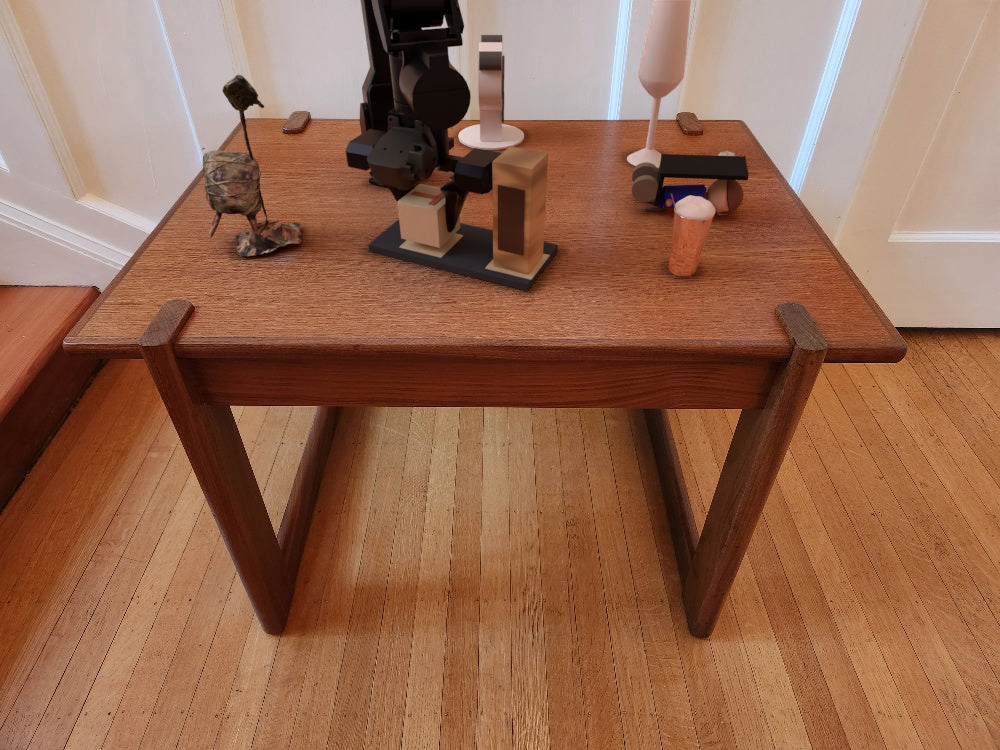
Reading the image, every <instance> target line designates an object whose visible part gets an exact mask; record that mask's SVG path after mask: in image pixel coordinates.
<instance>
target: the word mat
mask: <svg viewBox="0 0 1000 750" xmlns="http://www.w3.org/2000/svg"><path fill="white" fill-rule="evenodd" d="M367 246H368V251H369V252H370V253H374V254H379V255H381V256H386V257H390V258H394V259H399V260H402V261H406V262H410V263H414V264H417V265H422V266H426V267H429V268H433V269H438V270H442V271H446V272H450V273H454V274H458V275H461V276H466V277H469V278H474V279H478V280H482V281H486V282H490V283H494V284H497V285H501V286H505V287H510V288H514V289H518V290H522V291H526V292H528V291H529V290H530V289H531V287H532V286H533V285H534V284H535V282H536V281H537V280H538V278H539V277H540V275H542V273H543V272H544V271H545V269H546V268H547V266H548V265H549V264H550V263H551V261H552V260H553V258H554V257H555V256H556V255H557V254H558V252H559V244H556V243H552V242H547V241H544V244H543V257H542V258H541V260H540V261H539V262H538V263H537V264H536V266H535V267H534V268H533V269H532V271H531V272H530V273H529V274H528V275H527V274H523V273H519V272H515V271H511V270H507V269H503V268H499V267H495V266H493V229H490V228H485V227H481V226H476V225H471V224H467V223H462V222H460V229H459V230H458V231H457V232H456V233H455V234H454V235H453V236H452V237H451V238H450V239H449V240H448V241H446V242H445V243H444V244H443V245H442V246H441V247H440V248H438V247H434V246H430V245H425V244H421V243H417V242H413V241H409V240H405V239H401V231H400V223H399V219H398V220H396V221H395V222H394V223H393V224H391V225H390V226H389V227H388V228H387V229H385V230H384V231H383V232H382V233H380V235H378V236H377V237H376V238H374V239H373V240H372V241H371V242H370V243H368V244H367Z"/></svg>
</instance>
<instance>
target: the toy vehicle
mask: <svg viewBox="0 0 1000 750" xmlns="http://www.w3.org/2000/svg"><path fill="white" fill-rule="evenodd" d="M631 173H632V175H631V180H632V186H631V195H632V197H633V198H634V199H635V200H636V201H639V202H641V203H646V204H647V203H649V204H650V203H651V204H653V203H654V207H652V206H651V207H644V208H643V209H642V210H643V211H645V212H663V211H666V210H667V209H674V204H673V200H674V203H675V204H676V203H677V202H678V201H680V200H681V199H683V198H685V197H687V196H690V195H692V196H700V197H703V198H704V199H706V200H708V201H710V202H711V203H712V205H713V206H714V208H715V214H716V215H719V216H727V215H730V214H733V213H734V212H736V211H737V210H738V209H739V208H740V207H741V206H742V203H743V201H744V189H743V186H742V185H741V183H740V182H739V181H748V180H749V177H750V176H749V169H748V164H747V158H746V156H745V155H744V156H743V155H735V156H717V155H713V154H712V155H708V154H675V153H674V154H673V153H671V154H670V153H661V161H660V166H659V168H657V167H656V166H655V165H654V164H652V163H647V162H645V163H640V164H638V165H637V166H635V167H634V168H633V170H632V172H631ZM665 178H667V179H695V180H696V179H697V180H714V181H713V182H712V183H711V184H710V185H709V186H708V188H707V187H706V184H705V183H704V184H667V185H664V183H665ZM671 194H672V196H673V200H672V196H671Z"/></svg>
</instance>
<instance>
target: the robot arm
mask: <svg viewBox="0 0 1000 750" xmlns="http://www.w3.org/2000/svg"><path fill="white" fill-rule="evenodd" d="M360 8H361V14H362V21H363V27H364V34H365V41H366V48H367V55H368V60H369V61H368V62H369V69H368V70H367V73H366V76H365V78H364V81H363V83H362V86H361V92H362V93H361V94H362V100H363V102H360V103H359V126H360V132H361V134H359V135H357V136H356V137H355V138H352V139H351V140H349V141H348V143H347V144H346V148H345V158H346V164H347V167H349V168H351V169H356V170H361V171H367V172H368V171H369V170H370V171H369V172H368V173H369V176H371V177H370V178H368V183H369V184H372V185H377V186H381V187H386V188H388V189H389V191H390V192H391V194H392V196H393V197H394V199H395V201H396V202H397V201H399V200H400V199H401V198H402V197H404V196H405V195H406V194H408V193H409V192H410V191H411V190H413V189H414V188H415V187H416V184H417V182H418V181H419V180H420V179H421V180H429V179H430V177H431V176H432V174H433V173H434V171H439V172H443V173H448V181H447V182H445V183H444V185H442V186H441V187H439V188H440V190H441V192H442V193H443V194H444V195H445V203H446V224H447V230H448V232H452V231H453V230H454V228H455V226H456V223H457V221H458V218H459V215H460V216H461V212H462V210H463V207H464V206H465V205H464V204H465V202H466V200H467V197H468V195H469V193H474V194H476V195H477V194H478V195H486V194H489V193H490V192H491V191H493V177H492V161H494V160H495V159H496V158H497V157H498V156H499V155H501V154H502V153H503V152H499V151H495V150H483V149H478V148H472V150H471V151H469V152H468V153H467V154H466V155H464V156H458V155H453V154H450V151H451V150H452V149H454V147H455V138H454V137H450V136H449V129H451V128H453V127H455V126H456V125H458V124H459V123H460V122H461V121H462V120H463V119H464V118H465V117H466V116H467V115H466V114H467V113H468V111H469V108H470V106H471V99H472V98H471V90H470V88H469V85H468V81H466V79H465V77H464V75H462V74H461V72H460V71H458V69H457V68H455V66H454V65H453V64H452V63H451V61H450V56H449V48H452V47H453V48H454V47H462V46H463V45H464V44H463V42H464V41H463V37H462V35H463V34H464V30H465V23H464V19H463V15H462V11H461V7H460V2H459V0H360ZM444 19H445V23H446V26H447V27H442V26H443V24H444Z"/></svg>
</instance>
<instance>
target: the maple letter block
mask: <svg viewBox="0 0 1000 750" xmlns="http://www.w3.org/2000/svg"><path fill="white" fill-rule="evenodd" d="M501 153H502V154H501V155H499V156H498V157H497V158H496V159H495V160H494V161H492V177H493V189H492V230H493V266H495V267H499V268H503V269H507V270H511V271H515V272H519V273H523V274H527V275H528V274H529V273H530V272H531V271H532V269H533V268H534V267H535V266H536V264H537V263H538V262H539V261H540V260H541V258H542V257H543V244H544V242H545V223H546V222H545V221H546V202H547V181H548V160H549V153H548V152H543V151H538V150H533V149H532V150H531V149H527V148H521V147H516V146H514V147H509V148H507V149H504V151H503V152H501Z"/></svg>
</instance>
